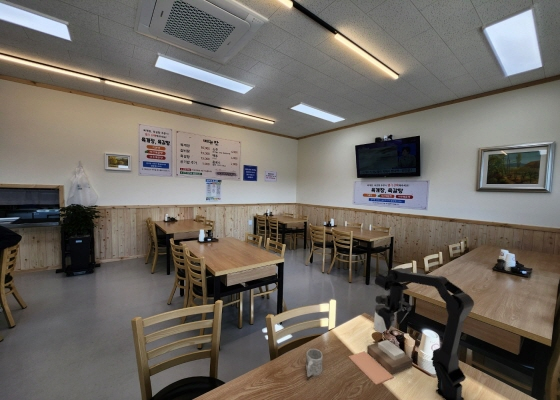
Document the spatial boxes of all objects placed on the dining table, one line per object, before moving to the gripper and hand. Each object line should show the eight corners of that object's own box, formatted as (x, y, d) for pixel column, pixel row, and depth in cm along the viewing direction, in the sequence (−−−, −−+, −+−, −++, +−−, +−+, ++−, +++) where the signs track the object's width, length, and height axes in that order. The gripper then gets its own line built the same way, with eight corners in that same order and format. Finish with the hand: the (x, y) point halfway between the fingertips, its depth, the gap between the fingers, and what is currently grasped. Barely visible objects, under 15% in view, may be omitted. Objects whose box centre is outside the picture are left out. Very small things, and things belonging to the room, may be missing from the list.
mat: (393, 377, 93) (393, 376, 93) (376, 385, 89) (376, 384, 89) (364, 351, 108) (364, 351, 108) (348, 357, 104) (348, 356, 104)
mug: (309, 361, 101) (310, 346, 101) (324, 367, 97) (324, 352, 97) (300, 376, 92) (300, 360, 92) (315, 384, 89) (316, 367, 89)
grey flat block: (404, 356, 100) (404, 352, 100) (394, 360, 98) (394, 355, 98) (387, 343, 109) (387, 339, 108) (377, 347, 106) (378, 342, 106)
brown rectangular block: (412, 367, 99) (412, 359, 99) (392, 375, 94) (392, 367, 94) (385, 346, 112) (385, 339, 112) (367, 352, 107) (367, 345, 107)
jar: (370, 326, 128) (371, 306, 127) (380, 323, 132) (381, 303, 131) (384, 336, 120) (385, 313, 119) (394, 331, 124) (395, 310, 123)
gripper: (390, 283, 118) (388, 312, 119) (368, 292, 107) (365, 323, 109) (413, 293, 108) (410, 324, 110) (391, 303, 98) (387, 337, 99)
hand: (393, 326), depth 107 cm, fingers open, 9 cm apart
